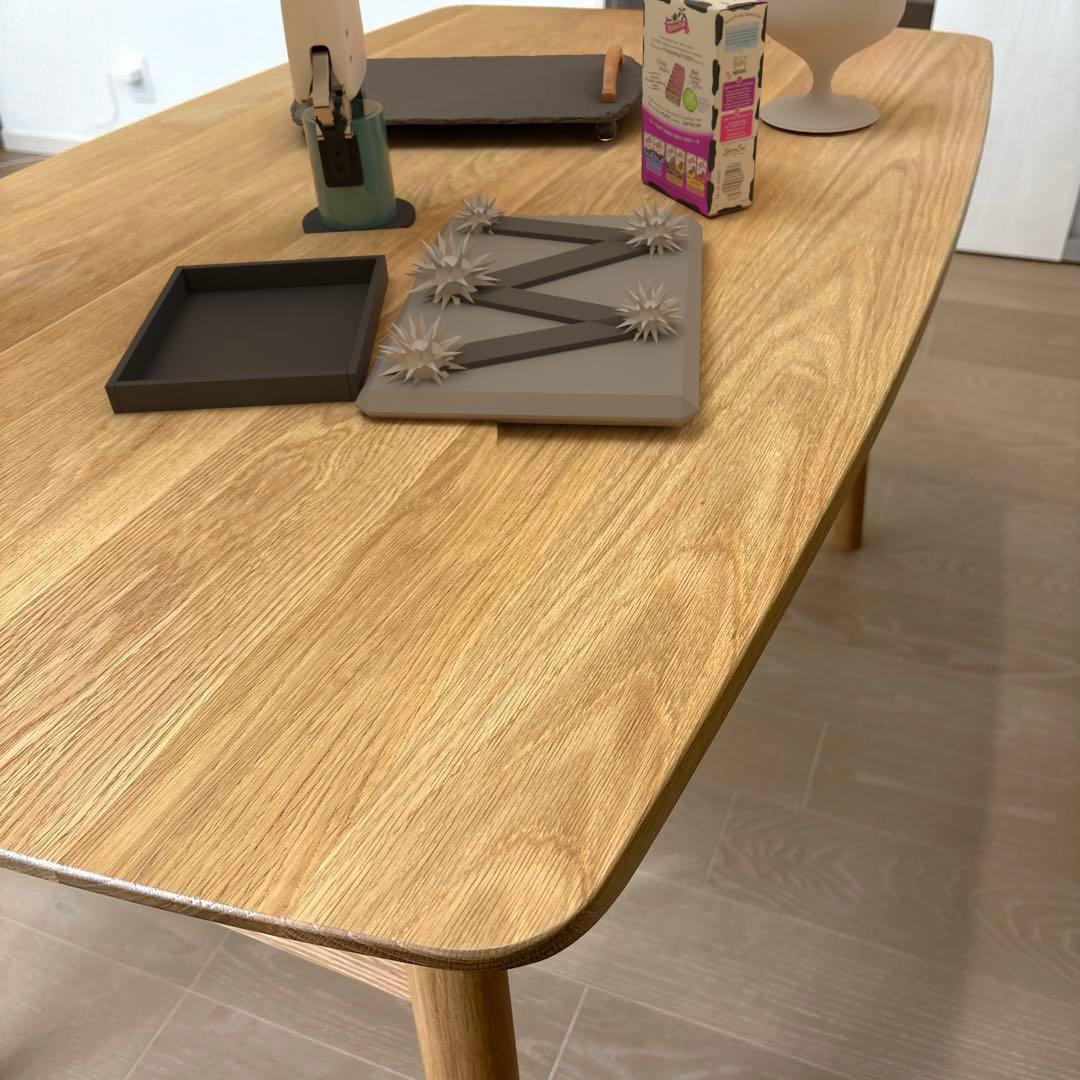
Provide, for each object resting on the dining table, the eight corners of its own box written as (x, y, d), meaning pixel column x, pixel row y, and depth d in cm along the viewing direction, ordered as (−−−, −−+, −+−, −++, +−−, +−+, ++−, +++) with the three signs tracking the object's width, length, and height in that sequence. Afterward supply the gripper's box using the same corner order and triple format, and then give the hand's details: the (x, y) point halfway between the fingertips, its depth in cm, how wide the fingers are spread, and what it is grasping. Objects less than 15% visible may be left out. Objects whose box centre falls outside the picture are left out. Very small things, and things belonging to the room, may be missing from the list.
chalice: (917, 123, 107) (945, -45, 97) (797, 149, 103) (814, -24, 94) (836, 88, 117) (854, -67, 108) (724, 110, 113) (733, -49, 104)
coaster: (294, 247, 91) (293, 242, 91) (312, 203, 99) (311, 197, 98) (411, 241, 91) (410, 235, 90) (420, 197, 98) (419, 191, 98)
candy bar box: (756, 207, 92) (772, -1, 82) (708, 220, 91) (718, 10, 81) (683, 169, 100) (689, -24, 90) (638, 181, 99) (639, -15, 88)
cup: (315, 233, 92) (294, 125, 86) (326, 203, 97) (308, 100, 91) (393, 228, 92) (378, 121, 86) (401, 199, 97) (387, 95, 91)
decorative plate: (697, 440, 65) (702, 335, 60) (354, 432, 68) (335, 331, 63) (702, 238, 88) (705, 151, 83) (446, 238, 91) (436, 154, 86)
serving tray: (655, 79, 123) (656, 20, 119) (643, 147, 106) (643, 82, 102) (333, 84, 129) (323, 28, 125) (270, 150, 111) (257, 88, 107)
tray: (117, 423, 70) (104, 386, 68) (185, 299, 84) (176, 265, 82) (362, 410, 70) (356, 373, 68) (390, 287, 84) (385, 254, 82)
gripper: (283, -82, 88) (322, 138, 99) (239, -39, 74) (290, 210, 85) (374, -88, 87) (403, 133, 99) (346, -46, 74) (384, 205, 85)
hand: (351, 167), depth 92 cm, fingers closed on cup, 6 cm apart
